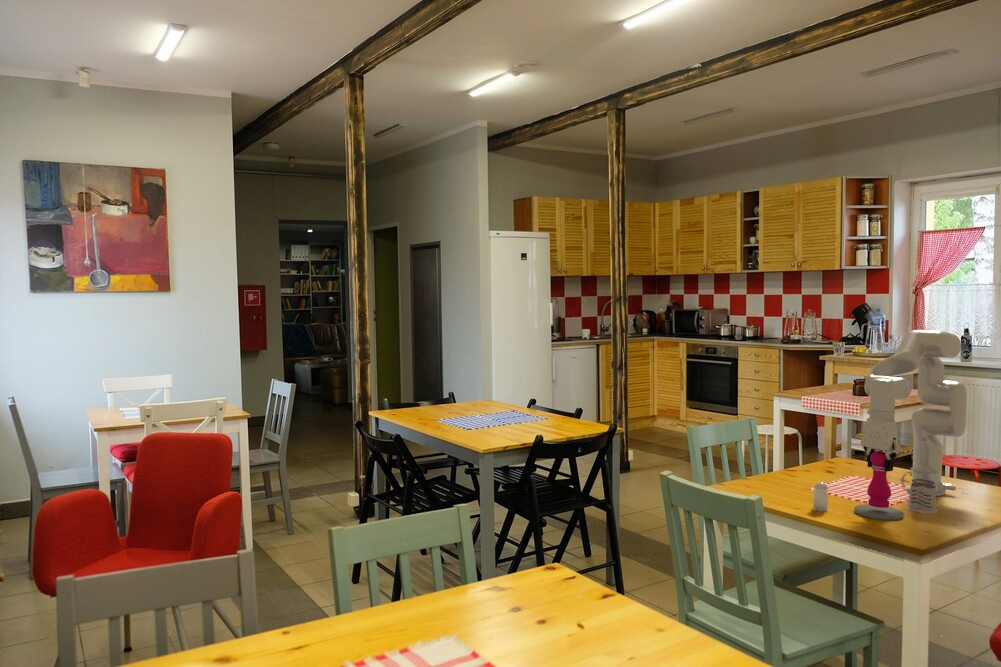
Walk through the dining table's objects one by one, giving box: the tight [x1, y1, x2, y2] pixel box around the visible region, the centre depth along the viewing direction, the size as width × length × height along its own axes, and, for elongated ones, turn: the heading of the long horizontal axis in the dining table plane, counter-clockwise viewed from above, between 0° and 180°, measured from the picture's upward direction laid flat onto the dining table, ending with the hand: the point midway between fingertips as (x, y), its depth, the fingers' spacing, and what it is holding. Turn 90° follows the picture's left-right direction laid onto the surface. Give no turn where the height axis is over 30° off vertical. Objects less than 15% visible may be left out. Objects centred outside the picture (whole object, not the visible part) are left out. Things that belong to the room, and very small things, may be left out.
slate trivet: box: [853, 504, 905, 522], centre depth 258 cm, size 15×15×1 cm
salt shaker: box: [813, 481, 829, 512], centre depth 263 cm, size 4×4×10 cm
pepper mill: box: [867, 450, 892, 508], centre depth 257 cm, size 7×7×20 cm
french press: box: [901, 437, 939, 514], centre depth 265 cm, size 10×12×25 cm
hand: (880, 468), depth 257 cm, fingers closed on pepper mill, 6 cm apart
